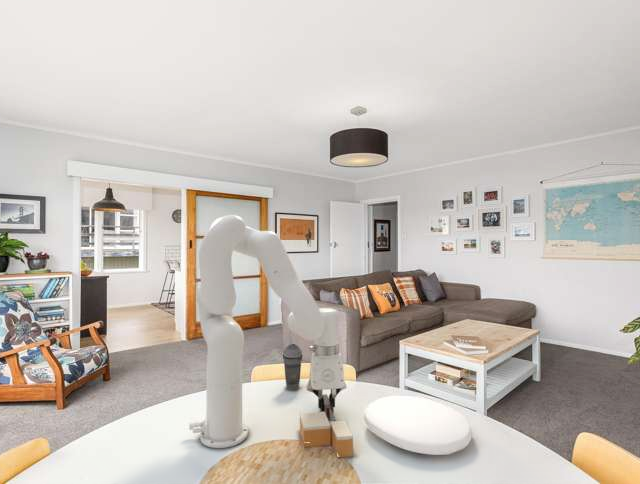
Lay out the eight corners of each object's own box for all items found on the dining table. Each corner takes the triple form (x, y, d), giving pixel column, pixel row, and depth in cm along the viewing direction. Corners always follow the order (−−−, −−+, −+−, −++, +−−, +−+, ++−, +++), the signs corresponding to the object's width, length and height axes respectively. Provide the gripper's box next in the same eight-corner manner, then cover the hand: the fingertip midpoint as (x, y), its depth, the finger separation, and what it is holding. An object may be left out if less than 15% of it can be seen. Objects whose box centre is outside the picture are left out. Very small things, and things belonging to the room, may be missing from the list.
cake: (304, 447, 94) (303, 427, 94) (299, 431, 102) (299, 413, 102) (330, 444, 95) (330, 425, 96) (324, 429, 103) (324, 411, 103)
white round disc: (476, 406, 107) (467, 453, 83) (473, 428, 107) (465, 482, 83) (382, 379, 120) (352, 414, 96) (380, 399, 120) (349, 438, 96)
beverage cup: (295, 393, 128) (294, 335, 129) (278, 389, 132) (278, 332, 132) (306, 386, 134) (306, 331, 135) (290, 382, 138) (290, 329, 139)
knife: (332, 434, 99) (332, 423, 99) (320, 404, 118) (320, 394, 118) (340, 433, 99) (340, 422, 99) (326, 403, 118) (326, 394, 118)
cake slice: (337, 457, 90) (337, 437, 90) (330, 440, 97) (330, 421, 98) (353, 456, 90) (352, 435, 90) (345, 439, 98) (344, 420, 98)
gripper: (302, 354, 108) (302, 417, 108) (354, 351, 111) (355, 413, 110) (299, 347, 116) (299, 406, 115) (348, 344, 118) (348, 402, 118)
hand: (326, 409), depth 113 cm, fingers closed on knife, 2 cm apart
